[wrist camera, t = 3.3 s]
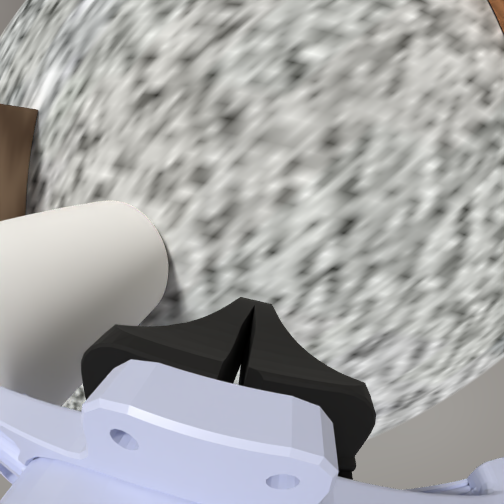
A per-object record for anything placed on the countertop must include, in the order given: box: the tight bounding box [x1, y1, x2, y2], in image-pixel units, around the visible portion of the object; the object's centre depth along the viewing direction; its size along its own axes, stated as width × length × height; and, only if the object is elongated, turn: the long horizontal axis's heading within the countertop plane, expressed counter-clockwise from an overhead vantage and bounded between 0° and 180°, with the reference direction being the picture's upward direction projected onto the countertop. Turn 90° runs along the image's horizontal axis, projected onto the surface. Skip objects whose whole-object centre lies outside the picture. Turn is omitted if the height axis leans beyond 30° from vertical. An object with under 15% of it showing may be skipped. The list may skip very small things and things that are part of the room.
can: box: [0, 201, 168, 406], centre depth 9 cm, size 6×6×12 cm
